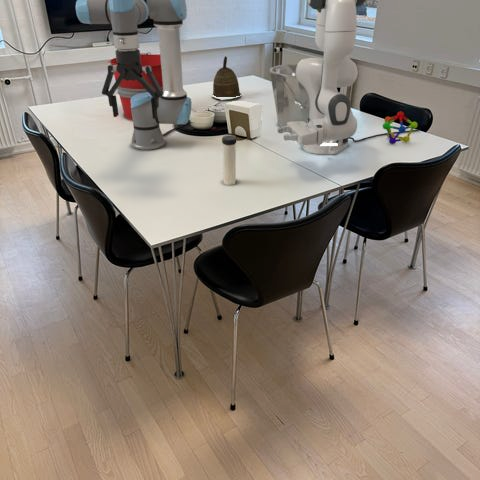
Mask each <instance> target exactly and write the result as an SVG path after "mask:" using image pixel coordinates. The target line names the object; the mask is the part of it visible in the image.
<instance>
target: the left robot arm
mask: <svg viewBox="0 0 480 480" xmlns="http://www.w3.org/2000/svg"><path fill="white" fill-rule="evenodd" d="M187 11H188V9H187V3H186V0H76V2H75V13H76V17H77V19H78V21H79V22H80V23H82V24H89V25H111V28H112V37H113V43H114V48H115V52H114V53H115V58H116V60H117V66H114V65H113V64H111V63H110V65H107V74H106V78H105V81H104V84H103V86H102V90H101V94H102V95H104V96H107V98H108V105H109V107H111V108H112V114H113V118H117V117H118V116H119V115H120V114H119V108H118V107H119V106H118V101H117V95H116V94H115V93H116V91H118V89H117V88H118V87H119V85H120V84H121V82H122V81H123V80H125V81H128V80H132V81H135V80H137V81H138V82H140V83H141V84H142V85H143V87H144V88H145V89H146V90H147V91H148V92H145V93H140V94H136V95H134V96H133V97H132V98H131V111H132V118H133V120H132V125H133V132H132V135H131V142H130V143H131V147H132V148H134V149H135V150H141V151H151V150H153V151H154V150H157V149H161V148H163V147H164V146H165V144H166V140H165V137H164V136H166V135H168V134H169V133H171V132H173V131H175V130H177V129H180V128H182V127H184V126H186V125H189V124H190V123H191V122H189V121H190V118H191V113H192V99H191V97H189V96H188V93H187V91H185V89H184V84H183V67H182V51H181V50H182V49H181V34H180V33H181V31H180V29H181V28H182V26H183V25H184V23H183V21H184V20H186V19H187V15H188V13H187ZM146 20H153V26H154V27H155V28H156V29H157V32H158V44H159V55H160V57H161V69H162V81H163V90H162V89H161V87H160V85H159V83H158V82H157V80H156V78H155V76H154V74H153V73H152V68H151V66H150V65H149V66H146V67H142V65H141V57H140V54H141V50H140V49H139V48H140V42H139V41H140V39H139V31H138V25H141V24H143V23H144V22H146ZM116 70H117V71H118V73H119V74H120V75H119V77H118V78H117V80H115V82H114V84H112V81H113V77H114V72H115V71H116ZM142 71H144V72H145V73H146V74H147V76H148V78H149V80H150V82H151V83H152V85H153V87H154V89H155V90H154V89H153V88H152V86H151V85H150V84H149V83H148V82H147V81H146V79H145V78H144V76H143V75H142V74H141V73H142ZM111 84H112V85H111ZM110 86H111V88H110ZM205 111H207V109H206V110H205ZM207 112H208V111H207ZM160 124H161V125H164V124H165V125H177V126H176V127H173V128H172V129H170V130H168V131H166V132H165V133H163V132H162V130H161V127H160Z"/></svg>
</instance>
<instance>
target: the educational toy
mask: <svg viewBox="0 0 480 480" xmlns="http://www.w3.org/2000/svg"><path fill="white" fill-rule="evenodd" d="M397 119H399V124H400V125H399V127H398V126H393V125H391V124H392V123H394V122H395V121H396V120H397ZM403 120H404V121H405V122H407V123H408V124H409V125H407V126H404V123H403ZM417 127H418V122H417V121H411V120H410V119H409V118H408V117H406V116H405V113H404V112H403V111H401V110H400V111H398V112H397V114H396V115H394V116H391V117H390V116H386V117H385V118H384V122H383V123H382V129H383V130H386V133H388V135H387V138H388V142H389V145H395V144H396V143H397V142H402V141H403V142H404V143H409V142H410V140H411V138H410V136H411V134H412V133H413V132H412V130H416V129H417ZM392 129H393V130H397V132H398V133H397V134H394V133H392V132H393V131H392ZM408 129H409V130H408ZM407 130H408V131H409V132H407V134H406V135H404V136H401V134H404V133H403V132H405V131H407ZM399 135H400V136H399Z"/></svg>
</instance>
